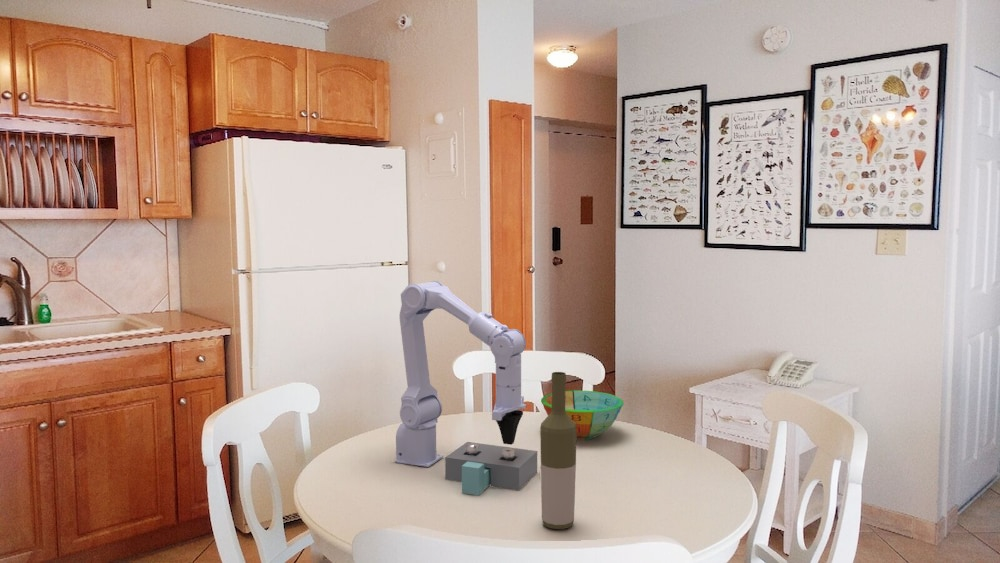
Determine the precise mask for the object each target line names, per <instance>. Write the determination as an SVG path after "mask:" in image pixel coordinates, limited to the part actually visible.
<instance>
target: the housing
mask: <svg viewBox="0 0 1000 563" xmlns="http://www.w3.org/2000/svg"><path fill="white" fill-rule="evenodd" d="M467 443H474V442H473V441H472V442H471V441H467V442H465V443H464V444H462V445H460V446H458V448H456V449H455V450H454V451H451V452H450V453H449V454H448V455H447V456H445V457H444V458H445V459H444V468H445V472H444V473H445V475H444V477H445V480H446V481H447V480H448V481H452V482H460V483H462V465H464V464H465V463H466V462H467V461H468V462H475V463H482V464H484V467H486V468H490V473H491V484H490V487H492V488H498V489H505V490H510V491H511V490H512V491H518V492H520V490H522V489H523V488H524V486H526V485H527V483H529V482H530V480H531V479H533V477H534V476H536V475H537V473H538V450H534V449H533V450H532V449H525V448H524V449H523V448H516V447H513V448H514V449H515V460H514V461H507V460H502V449H503V448H506V447H507V446H503V445H494V444H487V443H480V442H476V443H477V444H478V455H477V456H471V455H466V444H467ZM510 448H512V447H510Z"/></svg>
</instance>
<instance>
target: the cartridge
mask: <svg viewBox="0 0 1000 563" xmlns="http://www.w3.org/2000/svg"><path fill="white" fill-rule="evenodd" d="M489 486H491V473H490V468H486V467H484V464H482V463H475V462H468V461H467V462H466V463H465V464H464V465H462V482H461V493H462V494H467V495H473V496H480V495H481V494H482V493H483V492H484V491H485V489H486V488H488V487H489Z"/></svg>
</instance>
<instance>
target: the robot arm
mask: <svg viewBox="0 0 1000 563" xmlns="http://www.w3.org/2000/svg"><path fill="white" fill-rule="evenodd" d="M400 300H401V301H400V302H401V305H400V311H399V324H400V325H399V326H400V333H401V334H400V335H401V340H402V341H401V342H402V351H403V358H404V367H405V376H406V383H407V387H406V389H405V391H404V393H403V394H402V395H401V398H400V399H401V406H400V409H399V417H400V420H401V422H402V423H401V424H400V425H399V426H398V428H397V430H396V433H395V454H396V455H395V457H396V458H395V460H394V463H398V464H404V465H412V466H419V467H425V468H429V467H431V466H432V465H434V464H435V463H437V462H438V461H440V460H441V459H442V458H444V455H443V454H437V424H438V418H440V416H441V415H442V413H443V405H442V402H441V399H440V397H439V394H438V390H437V389H436V388H435V387H434V386H433V385H432V384H431V382H430V379H431V378H430V372H429V371H430V370H429V364H428V354H427V346H426V338H425V331H424V330H425V329H424V321H425V320H426V318H427V317H428V316H429V314H431V313H432V311H434V310H436V309H442V310H444V311H446V313H449V314H450V315H452V316H453V317H455V318H456V319H458V320H459V321H461V322H463V323H465V324H466V325H467V326H468V331H469V333H470V334H471V335H472V336H474V337H476V338H477V340H480V341H481V342H483V343H484V344H486V345H487V346H488V347H490V351H491V354H492V355H493V356H494V364H495V403H494V407H493V410H492V411H491V420H492V421H495V422H496V423H497V426H498V428H499V432H500V435H501V440H502V443H503V444H505V445H513V444H514V443H515V439H516V435H517V431H518V427H519V423H520V421H521V419H522V417H523V415H524V411H522V410H524V409H526V408H527V404H525V403H524V402H525V401H524V400H525V397H524V396H522V353H523V352H524V351H525V349H526V346H527V340H526V338H525V336H524V334H523V333H522V332H521V331H520V330H519V329H517V328H516V329H515V328H511V329H509V327H508V326H507V325H506V324H502V323H501V322H499V321H498V320H496V319H495V318H494V317H493V314H492V313H491V312H485V311H480V312H477V311H475V310H474V309H473V308H472V307H471V306H469V305H468V304H466V303H465V302H464V301H462V300H461V299H460V298H459V297H457V295H455V294H454V293H453V292H451V290H450V287H449V286H447V285H444V283H442V282H440V281H438V280H433V281H430V282H421V283H410V284H408V285H407V286H406V287H405V289H404V290H403V291H402V292H401V293H400Z"/></svg>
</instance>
